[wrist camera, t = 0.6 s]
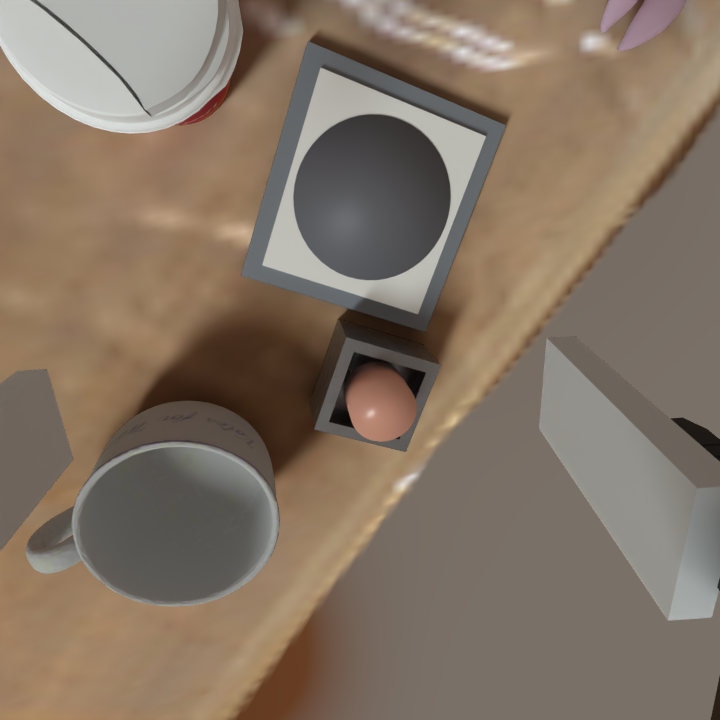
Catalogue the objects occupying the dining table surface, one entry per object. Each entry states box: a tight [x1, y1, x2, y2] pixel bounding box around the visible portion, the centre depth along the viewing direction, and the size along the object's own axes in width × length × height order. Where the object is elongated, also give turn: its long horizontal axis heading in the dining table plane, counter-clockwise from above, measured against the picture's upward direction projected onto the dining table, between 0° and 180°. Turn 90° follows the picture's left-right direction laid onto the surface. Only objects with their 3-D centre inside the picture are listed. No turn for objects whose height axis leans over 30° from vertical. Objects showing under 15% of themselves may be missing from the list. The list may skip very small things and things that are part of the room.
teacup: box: [26, 401, 280, 606], centre depth 33 cm, size 14×11×8 cm
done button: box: [344, 362, 417, 442], centre depth 33 cm, size 4×4×3 cm
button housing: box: [310, 319, 441, 452], centre depth 35 cm, size 6×6×4 cm
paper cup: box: [0, 0, 243, 134], centre depth 23 cm, size 8×8×14 cm
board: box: [241, 41, 506, 332], centre depth 33 cm, size 13×12×1 cm
